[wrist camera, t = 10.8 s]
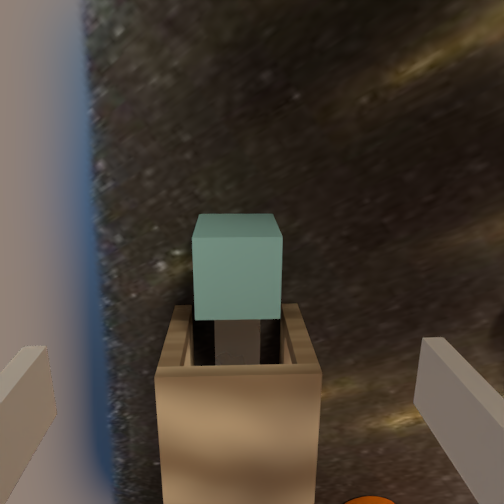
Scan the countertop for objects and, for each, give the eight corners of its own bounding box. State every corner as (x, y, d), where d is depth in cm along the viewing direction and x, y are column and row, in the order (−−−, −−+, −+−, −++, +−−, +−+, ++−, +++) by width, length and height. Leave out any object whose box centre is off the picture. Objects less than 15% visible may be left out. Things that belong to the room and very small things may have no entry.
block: (199, 213, 29) (191, 237, 23) (272, 213, 29) (282, 236, 24) (201, 282, 31) (194, 320, 25) (271, 281, 31) (280, 318, 25)
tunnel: (175, 305, 31) (154, 377, 22) (297, 303, 31) (322, 373, 23) (182, 440, 35) (166, 547, 26) (291, 437, 35) (311, 541, 26)
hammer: (213, 284, 30) (207, 351, 22) (259, 283, 30) (270, 349, 22) (218, 487, 36) (215, 604, 27) (256, 486, 36) (265, 602, 27)
